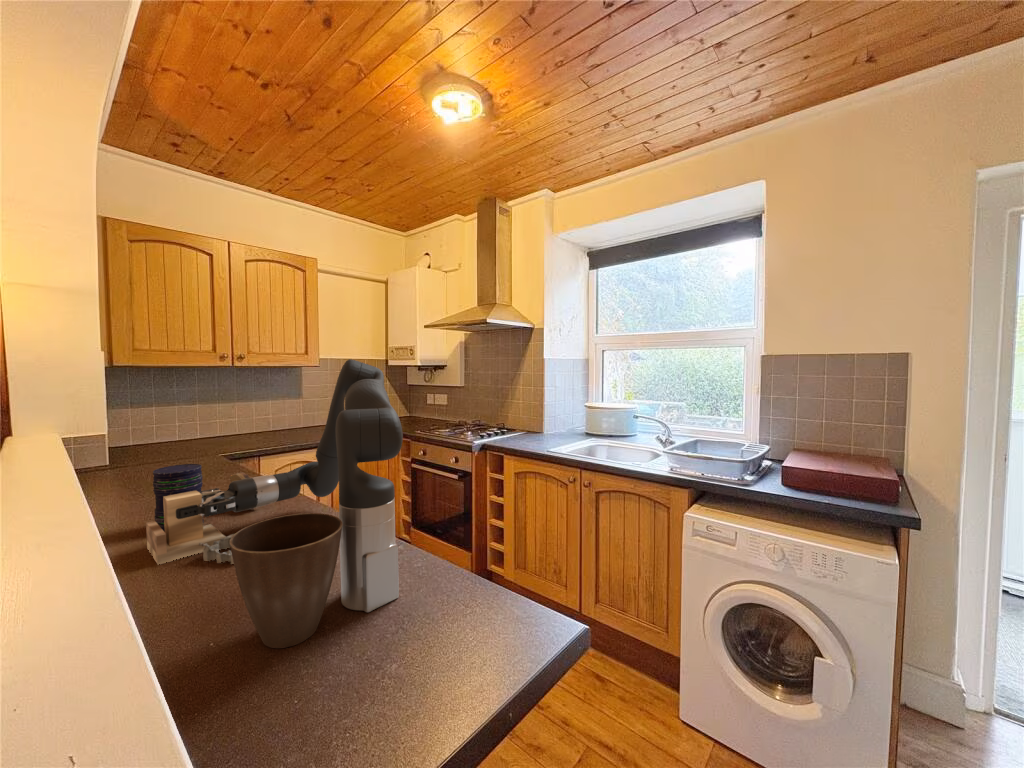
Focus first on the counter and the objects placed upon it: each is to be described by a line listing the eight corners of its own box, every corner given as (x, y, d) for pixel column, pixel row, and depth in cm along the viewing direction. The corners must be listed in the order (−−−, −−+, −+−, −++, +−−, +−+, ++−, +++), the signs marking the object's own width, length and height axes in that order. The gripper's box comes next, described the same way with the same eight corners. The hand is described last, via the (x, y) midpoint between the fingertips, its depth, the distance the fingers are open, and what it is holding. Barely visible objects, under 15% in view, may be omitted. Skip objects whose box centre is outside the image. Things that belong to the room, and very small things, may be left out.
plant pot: (317, 594, 74) (315, 506, 73) (363, 627, 65) (360, 526, 64) (218, 637, 62) (214, 532, 62) (256, 684, 53) (252, 562, 52)
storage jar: (183, 533, 101) (180, 473, 101) (143, 533, 101) (141, 473, 101) (213, 518, 111) (211, 463, 111) (177, 518, 111) (175, 463, 111)
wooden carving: (269, 509, 119) (267, 474, 118) (252, 514, 115) (250, 478, 114) (240, 499, 127) (239, 467, 127) (223, 503, 124) (222, 470, 123)
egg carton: (196, 562, 87) (195, 543, 87) (228, 547, 94) (228, 529, 94) (237, 568, 84) (236, 548, 84) (267, 551, 92) (266, 533, 92)
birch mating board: (226, 545, 94) (225, 519, 94) (157, 565, 85) (156, 536, 85) (211, 532, 102) (210, 508, 102) (147, 548, 93) (145, 522, 93)
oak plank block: (203, 537, 94) (201, 494, 94) (169, 546, 89) (167, 500, 89) (197, 532, 97) (196, 490, 97) (165, 540, 92) (163, 496, 92)
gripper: (244, 473, 108) (164, 487, 96) (264, 482, 99) (178, 499, 87) (244, 501, 109) (165, 518, 96) (265, 513, 99) (180, 535, 87)
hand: (171, 509), depth 92 cm, fingers open, 8 cm apart
